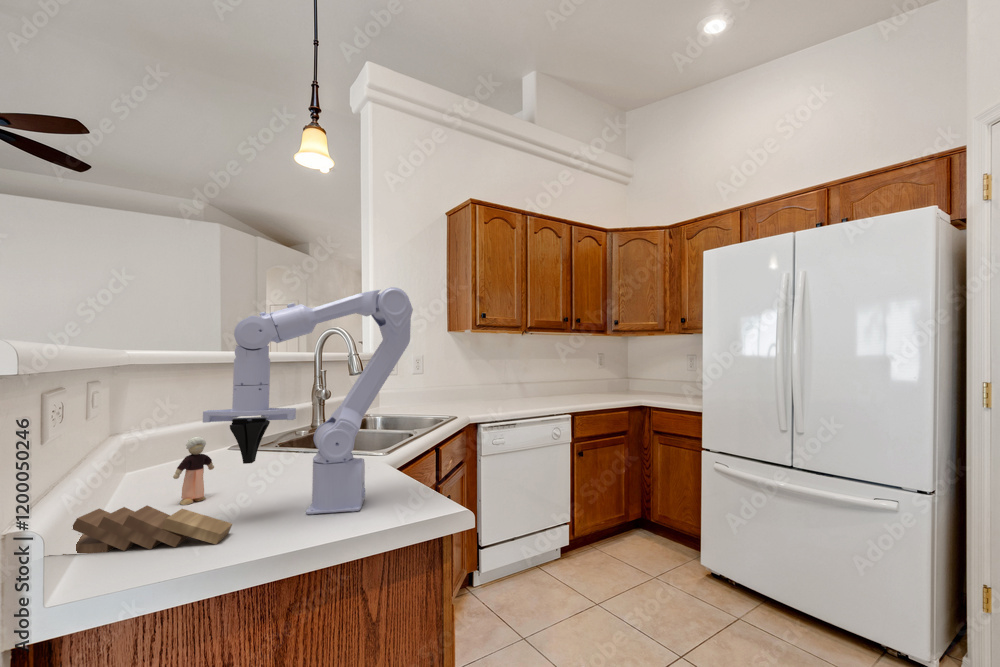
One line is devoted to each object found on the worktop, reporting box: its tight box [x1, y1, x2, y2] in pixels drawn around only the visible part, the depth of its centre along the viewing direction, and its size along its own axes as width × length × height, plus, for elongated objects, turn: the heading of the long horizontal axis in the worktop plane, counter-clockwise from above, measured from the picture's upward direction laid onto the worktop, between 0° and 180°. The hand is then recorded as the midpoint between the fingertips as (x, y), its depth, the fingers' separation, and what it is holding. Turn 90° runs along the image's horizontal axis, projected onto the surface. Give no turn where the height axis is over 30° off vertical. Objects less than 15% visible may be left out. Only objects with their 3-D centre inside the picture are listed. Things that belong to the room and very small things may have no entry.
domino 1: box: [72, 508, 137, 552], centre depth 67 cm, size 2×4×8 cm
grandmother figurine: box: [172, 436, 215, 506], centre depth 89 cm, size 8×4×13 cm, turn 169°
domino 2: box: [76, 533, 116, 554], centre depth 66 cm, size 2×4×8 cm
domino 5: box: [162, 508, 233, 545], centre depth 69 cm, size 2×4×8 cm
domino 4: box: [123, 504, 189, 548], centre depth 68 cm, size 2×4×8 cm
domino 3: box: [98, 506, 162, 550], centre depth 67 cm, size 2×4×8 cm
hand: (249, 462), depth 78 cm, fingers closed
